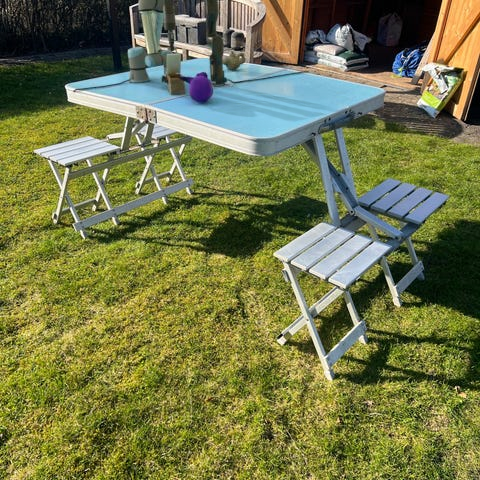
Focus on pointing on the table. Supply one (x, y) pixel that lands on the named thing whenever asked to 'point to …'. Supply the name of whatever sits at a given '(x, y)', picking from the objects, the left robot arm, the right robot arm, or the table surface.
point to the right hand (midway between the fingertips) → (172, 50)
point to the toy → (199, 87)
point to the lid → (173, 62)
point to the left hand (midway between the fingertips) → (175, 81)
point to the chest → (175, 84)
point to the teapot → (233, 61)
